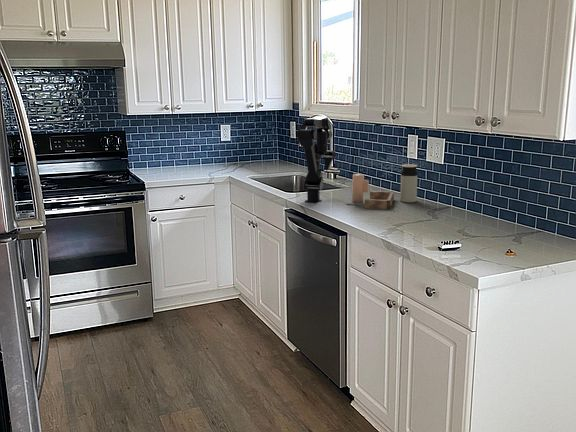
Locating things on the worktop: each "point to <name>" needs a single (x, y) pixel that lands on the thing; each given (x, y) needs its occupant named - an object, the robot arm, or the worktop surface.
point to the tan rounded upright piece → (359, 188)
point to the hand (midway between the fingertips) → (321, 171)
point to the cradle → (379, 200)
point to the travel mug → (408, 183)
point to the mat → (355, 203)
